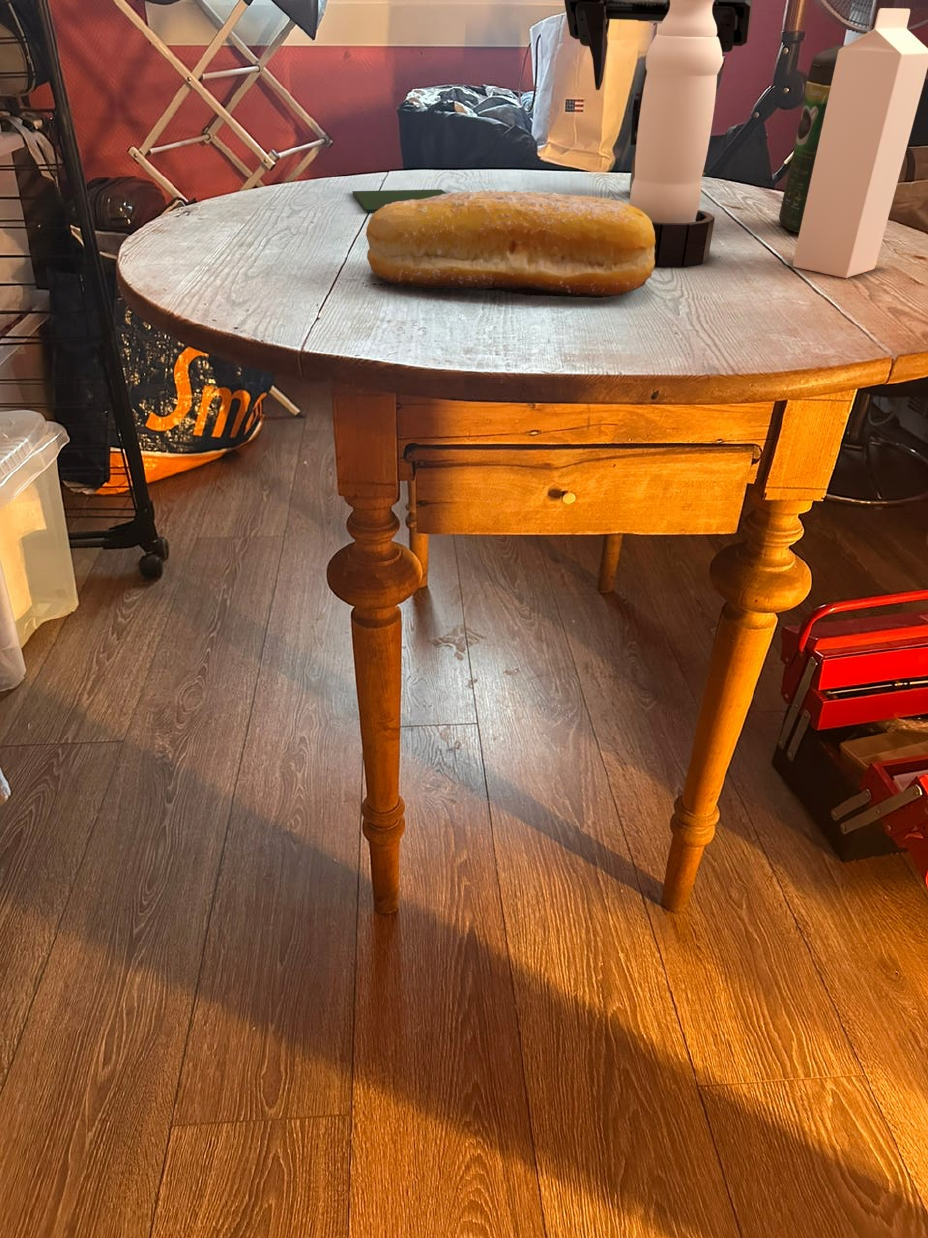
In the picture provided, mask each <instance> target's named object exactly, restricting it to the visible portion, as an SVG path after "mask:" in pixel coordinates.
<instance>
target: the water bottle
mask: <svg viewBox="0 0 928 1238" xmlns="http://www.w3.org/2000/svg"><path fill="white" fill-rule="evenodd" d="M714 1H715V0H670V8H669V11H668V13H667V15H666V17H665V18H664V20H663V21H662V23H661V24H659V27H658V31H657V34H655V36H654V38H653V40H652V41H651V44H650V45H649V47H648V50H647V53H646V56H645V70H647V75H646V79H645V84H644V90H643V96H642V102H641V109H640V117H639V125H638V134H637V144H636V145H635V155H636V156H635V155H634V156H635V178H634V180H633V184H632V188H631V192H630V196H629V205H632V206H634V207H636V208H638V209H640V210H641V211H642V212H644V213H645V214H646V215H647V216H648V217H649V218H650V220H651V221H652V222H658V223H690V222H695V220H696V215H697V212H698V210H699V208H700V203H701V196H702V177H703V174H704V169H705V165H706V160H707V156H708V151H709V144H710V140H711V132H712V127H713V122H714V121H713V119H714V112H715V105H716V96H717V95H716V94H717V85H718V84H717V83H718V74H719V72H720V71H721V69H722V63H723V53H722V50H721V46H720V42H719V38H718V37H716V35H717V26H716V23H715V20H714V18H713V15H712V5H713V2H714Z"/></svg>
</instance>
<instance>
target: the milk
mask: <svg viewBox="0 0 928 1238" xmlns="http://www.w3.org/2000/svg"><path fill="white" fill-rule="evenodd" d="M910 15H911V9H910V8H891V7H890V8H889V7H888V8H887V7H885V8H884V7H883V8H881V7H880V8H879V9H878V11H877V15H876V19H875V23H874V27H873V29H872V30H870V31H868V32H866V33H864V34H862V35H861V36H859V37H857V38H856V39H854V40H853V41H851V42H849V43H848V44H845V45H846V46H844V47H843V48H841V49H839V51H838V56H837V60H836V65H835V70H834V74H833V79H832V84H831V88H830V93H829V98H828V102H827V107H826V112H825V116H824V121H823V126H822V130H821V135H820V140H819V144H818V149H817V154H816V158H815V163H814V168H813V172H812V177H811V182H810V186H809V191H808V196H807V200H806V205H805V210H804V214H803V219H802V224H801V228H800V233H798V238H797V243H796V246H795V252H794V258H793V262H792V267H793V268H797V269H803V270H807V271H811V272H816V273H819V274H825V275H829V276H832V277H833V276H834V277H838V278H842V279H847V278H851V277H855V276H857V275H860V274H863V273H866V272H870V271H872V270H875V268H876V265H877V262H878V258H879V255H880V250H881V248H882V243H883V239H884V236H885V231H886V228H887V223H888V219H889V216H890V212H891V209H892V206H893V205H892V204H893V201H894V198H895V194H896V189H897V186H898V182H899V178H900V174H901V171H902V166H903V163H904V159H905V156H906V151H907V147H908V144H909V141H910V137H911V133H912V129H913V125H914V121H915V117H916V114H917V110H918V106H919V104H920V103H919V102H920V99H921V95H922V91H923V88H924V83H925V79H926V75H927V71H928V47H927V46H926V45H925V44H924V43H922V41H920V39H918V38H917V37H916V35H914V34H913V33H912V32H911V31H910V30H909V29H908V23H909V19H910Z"/></svg>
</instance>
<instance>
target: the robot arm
mask: <svg viewBox="0 0 928 1238" xmlns="http://www.w3.org/2000/svg"><path fill="white" fill-rule="evenodd" d="M563 4H564V8H565V14H566V19H567V27H568V32H569V36H570V37H571V38H573V39H575V40H579V43H580V45H581V46H583V47H589V51H590V54H591V58H592V67H593V75H594V76H593V78H594V87H595V91H600V90H601V87H602V85H603V81H604V74H605V67H606V61H607V59H606V58H607V52H608V45H609V42H608V33H609V27H610V22H611V21H610V20H620V21H621V20H623V21H638V22H648V23H650V24H659V25H661V23H662V21H663V20H664V18H665V17H666V15H667V13H668V11H669V8H670V0H564V3H563ZM753 7H754V0H715V1H714V2H713V5H712V15H713V18H714V20H715V23H716V26H717V35H716V37H718V38H719V42H720V46H721V50H722V54H723V53H730V52H732V51H733V48H734V47H742V46H744V45H745V44H747V43H748V38H749V34H750V29H751V23H752V15H753ZM646 75H647V70H646V69H645V70H644V74H643V78H642V82H641V86H640V91H636V92H635V94H634V99H633V104H632V114H631V115H632V116H631V128H630V129H631V131H630V144H629V145H630V146H636V144H637V134H638V125H639V117H640V109H641V102H642V96H643V90H644V84H645V79H646ZM635 156H636V154H635V155H634V156H633V157H632V163H631V170H630V179H629V192H630V193H631V188H632V184H633V180H634V178H635Z"/></svg>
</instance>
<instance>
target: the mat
mask: <svg viewBox="0 0 928 1238" xmlns="http://www.w3.org/2000/svg"><path fill="white" fill-rule="evenodd" d="M442 194H448V193H447V192H446V191H445V190H443V189H441V188H440V189H439V188H437V189H396V190H395V189H389V190H352V195H353V197H354V198H355V199H356V201H357V202H358V204H359V205H360V206H361V208H362V209H363V210H364V212H365V213H366V214H370V213H372V214H374V213H375V212H376V211H377V210H379V209H380V208H382V207H383V206H385V205H386V204H391V203H392V202H397V201H406V200H411V199H413V200H419V199H425V198H430V197H433V196H439V195H442Z"/></svg>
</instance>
